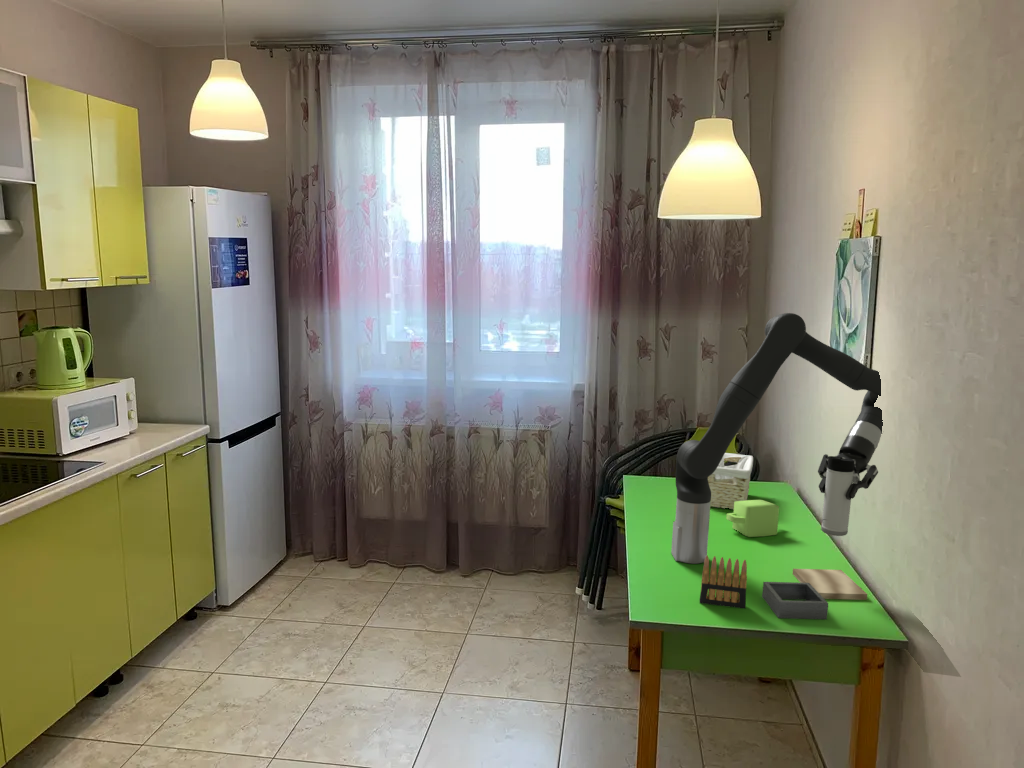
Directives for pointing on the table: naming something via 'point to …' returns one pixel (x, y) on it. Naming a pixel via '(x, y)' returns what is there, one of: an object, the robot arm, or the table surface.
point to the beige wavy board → (831, 583)
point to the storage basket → (730, 481)
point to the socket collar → (794, 609)
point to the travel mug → (837, 496)
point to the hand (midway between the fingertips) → (834, 494)
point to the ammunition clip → (724, 584)
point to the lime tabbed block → (755, 518)
